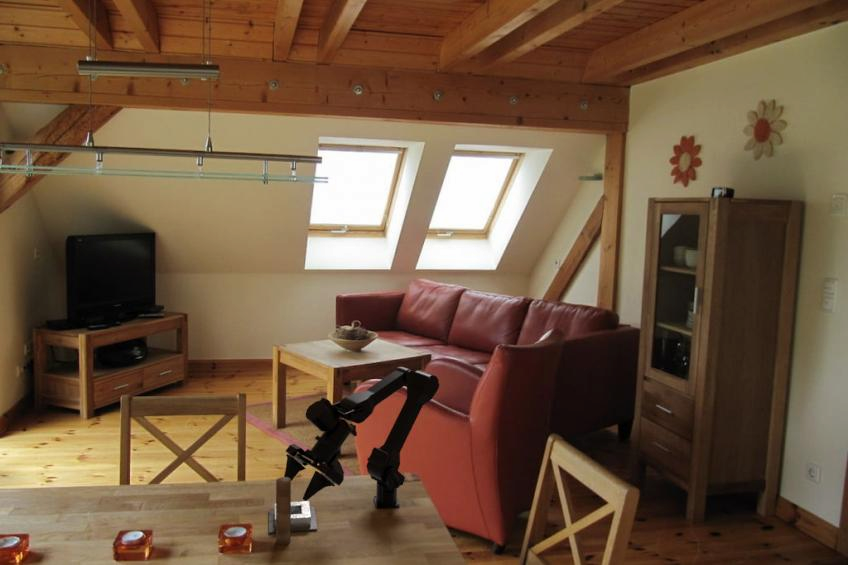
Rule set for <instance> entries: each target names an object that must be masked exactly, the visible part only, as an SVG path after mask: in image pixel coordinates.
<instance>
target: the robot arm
mask: <svg viewBox="0 0 848 565" xmlns="http://www.w3.org/2000/svg"><path fill="white" fill-rule="evenodd" d="M405 386H406V399H405V400H404V401H405V402H404V403H403V405H402V407H401V410H400V411H399V413H398V416H397V417H396V419H395V422H394V423H393V425H392V428H391V430H390V431H389V434H388V435H387V437H386V440H385V442H384V443H383V444H382V445H381V446H380V447H375V446H374V447H373V448H372V450H371V453H370V455H369V457H367V460H366V461H367V463H366V465H365V466H366V471H367V473H368V474H369V476H370V478H371V479H372V480H374V481H376V491H375V492H376V495H374V496H373V501H374V504H375V508H376V509H384V508H385V509H386V508H387V509H388V508H400V505H401V504H400V502H399V500H398V488H400V487H401V486H403V485H404V483H405V479H406V478H405V476H404V475H403V474H402V473H401V472H400V471H399V468H400V465H401V451H402V449H403V447H404V446H405V445H404V444H405V443H406V440H407V439H408V437H409V434H410V433H411V431H412V429H413V426H414V425H415V423H416V421H417V418H418V416H419V414H420V412H421V410H422V409H423V407H424V406H425V405H426V404H427V403H429V402H430V401H431V400H432V399H433V398H434V397H435V395H436V394H437V392H438V390H439V388H440V383H439V378H438V377H437V375H434V374H430V373H428V372H426V371H423V370H416V371H413V370H412V369H410V368H407V367H404V366H398V367H396V368H395V370H394V371H392V372H391V373H389V374H387V376H385V377H383V378H382V379H381V380H379V381H377V382H376V383H374V384H372V385H371V386H370V387H369V388H367V389H366V390H363V391H360V392H354V393H353V392H352V393H351V394H348V395H346V396H345V397H343V398H342V399H341V400H340V401H337V402H335V403H332V402H331V401H330V399H328V398H326V397H323V396H322V397H321V399H320V400H317V401H314V402H313V403H312V404H310V405H308V406H307V409H306V410H305V418H306V419H307V420H308V421H309V422H310V423H311V424H312V425H314V426H315V427H316V428H317V429H318V430H319V431H320V432H323V433H322V434H321V435H320V436H319V435H316V436H315V437H314V440H316V442H315V444H314V445H313V446H312V447H311V449H308V448H306V450H304V449H303V448H302V447H301V446H299V445H297V444H296V443H295V444H294V443H292V444H289V446H288V447H287V448H286V449H285V452H286V453H287V454H286V456H285V457H286V462H285V471H284V474H283V477H288V478H290V479H291V482H292V481H293V480H294V479H295V477H296V476H297V475H298V474H299V472H302V471H305V470H306V469H307V468H306V466H308V465H309V466H310V467H312V468H314V469H316V470H315V471H314V473H313V475H312V477H311V479H310V481H309V483H308V486H307V488H306V489H305V492H304V494H303V497H302V500H303V501H309V500H310V498H312V497H313V496H314V495H316V494H317V493H319V492H320V491H322V490H323V489H325V488H326V487H336V485H337V486H339V487H340V486H341V484H342V483H343V482H344V480H345V476H344V475H345V471H344V469H343V466H342V464H341V462H340V461H339V457H340V456H341V451H340V449H341V447H342V446H343V444H344V443H345V441H346V440H347V438H348V437H349V435H352V436H353V437H357V435H358V434H357V425H355V424H362V423H364V422H365V421H366V420H367V419H368V418H369V417H371V415H372V414H373V412H374V410H375V408H376V406H377V405H379V404H380V403H382V402H383V401H385V400H386V399H388V398H389V397H390V396H392V395H393V394H395V393H396V392H398V391H399V390H401V389H402V388H403V387H405ZM349 422H352V423H349ZM353 423H354V424H353Z"/></svg>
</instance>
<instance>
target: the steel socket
mask: <svg viewBox="0 0 848 565" xmlns="http://www.w3.org/2000/svg"><path fill="white" fill-rule="evenodd" d="M315 510H316V509H315V506H310V501H309V500H307V501H305V500H303V501H291V533H300V532H301V533H302V532H316V531H318V528H317V527H318V525H317V519H316V511H315ZM273 534H275V535H276V502H275V503H274V509H272V508H271V509H268V535H273Z"/></svg>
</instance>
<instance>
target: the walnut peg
mask: <svg viewBox="0 0 848 565" xmlns="http://www.w3.org/2000/svg"><path fill="white" fill-rule="evenodd" d="M275 483H276V484H275V492H276V493H275V503H276V534H275V543H276V544H277V545H279V546H285V545H288V544H289V543H291V533H292V532H291V502H292V499H291V494H292V493H291V492H292V481H291V479H290V478H288V477H284V476H282V477H281V476H280V477H278V478H277V479H276V480H275Z"/></svg>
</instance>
